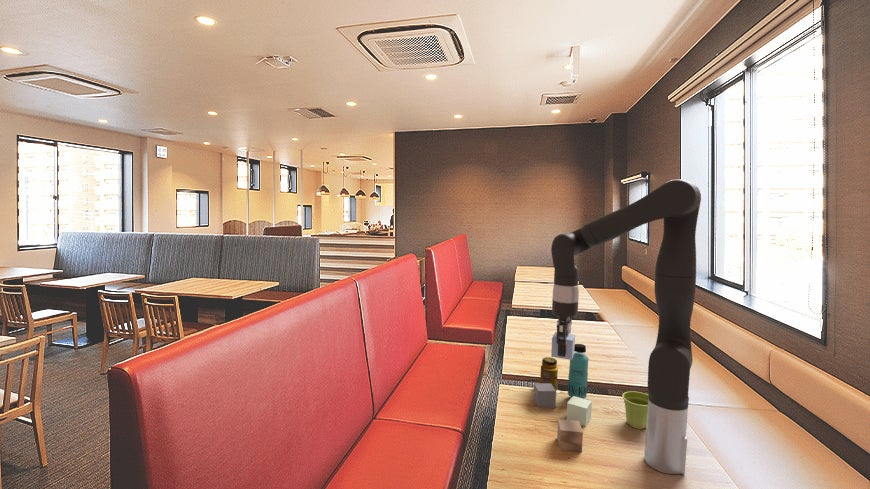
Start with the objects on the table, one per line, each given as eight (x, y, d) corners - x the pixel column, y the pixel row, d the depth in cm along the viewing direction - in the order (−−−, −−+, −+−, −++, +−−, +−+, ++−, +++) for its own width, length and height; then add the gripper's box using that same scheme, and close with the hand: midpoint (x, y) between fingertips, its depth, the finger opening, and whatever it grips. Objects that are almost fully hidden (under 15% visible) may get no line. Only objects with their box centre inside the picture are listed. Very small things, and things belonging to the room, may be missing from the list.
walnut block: (578, 440, 122) (579, 421, 121) (581, 452, 116) (582, 432, 115) (557, 438, 123) (557, 419, 122) (559, 450, 117) (560, 430, 116)
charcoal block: (550, 399, 147) (551, 383, 146) (555, 408, 141) (556, 391, 140) (533, 399, 147) (534, 383, 146) (537, 408, 141) (538, 391, 140)
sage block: (590, 418, 134) (591, 401, 133) (585, 426, 129) (586, 408, 129) (572, 413, 138) (573, 395, 137) (566, 420, 133) (567, 402, 132)
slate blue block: (574, 353, 129) (575, 334, 128) (571, 360, 124) (572, 340, 123) (554, 350, 132) (555, 332, 131) (551, 356, 126) (552, 337, 126)
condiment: (561, 392, 153) (563, 360, 151) (546, 398, 148) (547, 365, 147) (546, 384, 159) (547, 354, 157) (530, 390, 154) (532, 359, 153)
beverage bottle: (565, 394, 150) (568, 341, 148) (584, 395, 150) (587, 342, 148) (569, 403, 144) (571, 347, 142) (588, 404, 143) (591, 348, 141)
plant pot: (653, 435, 124) (655, 408, 124) (619, 427, 129) (621, 400, 128) (654, 421, 133) (655, 395, 132) (621, 413, 137) (623, 388, 136)
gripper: (575, 305, 118) (573, 362, 119) (580, 295, 131) (578, 347, 132) (548, 302, 121) (546, 358, 123) (556, 293, 134) (554, 343, 136)
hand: (563, 352), depth 128 cm, fingers closed on slate blue block, 6 cm apart
